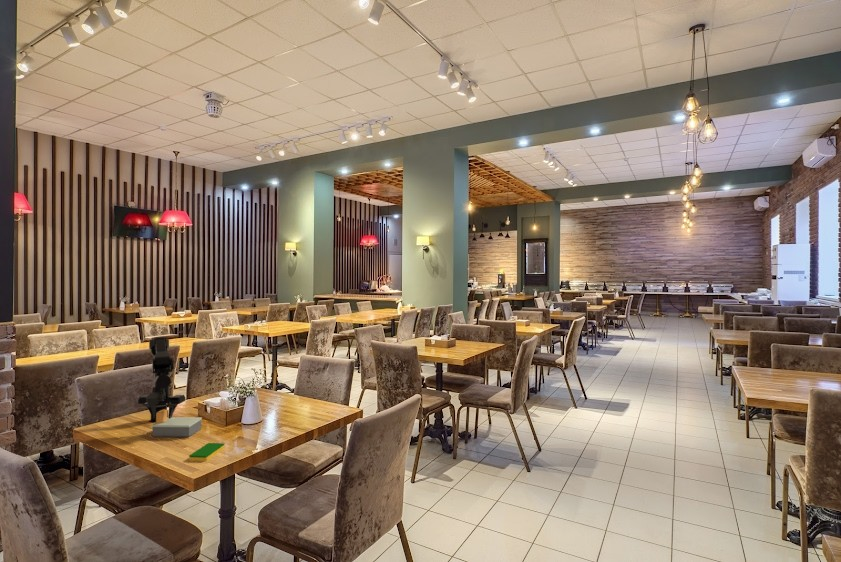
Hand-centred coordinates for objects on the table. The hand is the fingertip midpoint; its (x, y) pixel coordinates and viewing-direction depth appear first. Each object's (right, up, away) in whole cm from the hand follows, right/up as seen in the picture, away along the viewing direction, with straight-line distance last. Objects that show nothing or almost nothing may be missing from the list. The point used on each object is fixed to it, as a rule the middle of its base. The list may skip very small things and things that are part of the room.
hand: (161, 418), depth 203 cm
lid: (+7, -3, 0) cm, 8 cm away
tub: (+7, -7, 0) cm, 10 cm away
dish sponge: (+32, -8, -24) cm, 41 cm away
